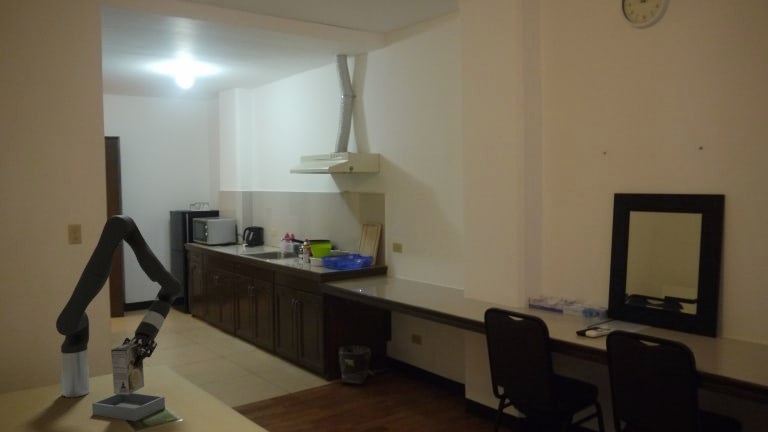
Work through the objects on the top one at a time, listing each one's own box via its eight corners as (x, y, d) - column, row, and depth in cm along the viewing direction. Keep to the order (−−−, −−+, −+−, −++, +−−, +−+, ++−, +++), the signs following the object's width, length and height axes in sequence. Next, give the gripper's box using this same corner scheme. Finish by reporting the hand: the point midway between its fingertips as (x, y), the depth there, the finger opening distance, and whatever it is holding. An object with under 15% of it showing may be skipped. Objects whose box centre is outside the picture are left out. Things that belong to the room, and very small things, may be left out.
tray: (92, 414, 216) (92, 403, 216) (123, 401, 229) (123, 391, 229) (135, 421, 208) (134, 409, 208) (164, 407, 221) (164, 396, 221)
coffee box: (129, 386, 223) (126, 342, 223) (144, 386, 222) (142, 343, 221) (113, 394, 214) (110, 349, 214) (129, 395, 213) (127, 349, 212)
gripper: (129, 319, 228) (106, 358, 218) (159, 321, 223) (136, 361, 212) (141, 330, 233) (118, 369, 223) (170, 332, 228) (148, 372, 217)
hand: (127, 365), depth 218 cm, fingers closed on coffee box, 7 cm apart
